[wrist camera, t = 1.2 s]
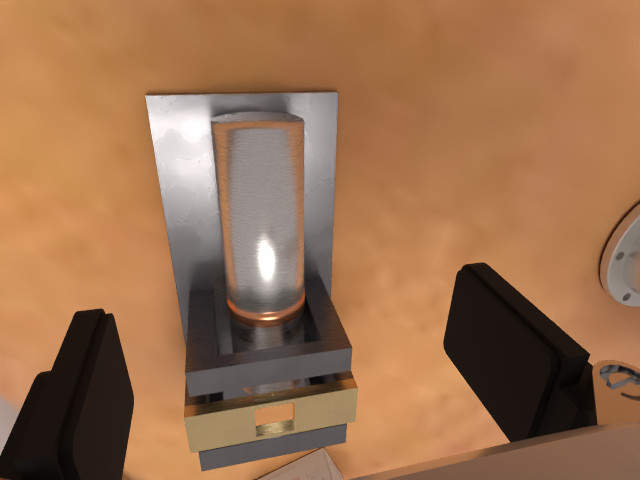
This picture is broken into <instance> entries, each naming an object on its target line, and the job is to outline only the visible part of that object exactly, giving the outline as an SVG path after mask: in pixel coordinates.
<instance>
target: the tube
mask: <svg viewBox="0 0 640 480" xmlns="http://www.w3.org/2000/svg"><path fill="white" fill-rule="evenodd" d="M210 123H211V134H212V144H213V154H214V164H215V175H216V185H217V195H218V205H219V216H220V226H221V236H222V246H223V257H224V267H225V277H226V287H227V295H226V296H227V306H228V311H229V318H230V329H231V339H232V349H233V353H239V352H245V351H252V350H259V349H266V348H273V347H280V346H287V345H294V344H300V343H304V306H305V288H304V119H303V118H301V117H299V116H296V115H292V114H287V113H279V112H240V113H231V114H226V115H221V116H218V117H215V118H213V119H212V120H211V122H210ZM301 380H302V379H297V380H291V381H284V382H278V383H272V384H266V385H260V386H254V387H248V388H242V389H243V390H244V391H245V392H247V393H249V394H251V395H257V394H263V393H269V392H275V391H281V390H287V389H292V388H295V387H296V386H297V385H298V384H299V383H300V381H301Z"/></svg>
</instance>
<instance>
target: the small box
mask: <svg viewBox="0 0 640 480" xmlns="http://www.w3.org/2000/svg"><path fill="white" fill-rule="evenodd" d="M257 480H343V478H342V475H341V474H340V472H339V470H338V469H337V467H336V466H335V464H334V463H333V461H332V459H331V458H330V456H329V455H328V453H327V452H326V450H325V449H324V448H321V449H319V450H316V451H314V452H312V453H310V454H308V455H306V456H304V457H302V458H300V459H298V460H296V461H294V462H292V463H290V464H288V465H286V466H284V467H282V468H280V469H278V470H275V471H273V472H271V473H269V474H267V475H265V476H263V477H261V478H259V479H257Z"/></svg>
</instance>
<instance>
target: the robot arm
mask: <svg viewBox="0 0 640 480" xmlns="http://www.w3.org/2000/svg"><path fill="white" fill-rule="evenodd" d="M600 279H601V284H602V286H603V288H604V290H605V292H606V293H607V294H608V295H609V296H610V297H611V298H613V299H614V300H616V301H617V302H619V303H620V304H623V305H626V306H632V307H640V204H639V205H638V206H636V207H635V208H634V209H633V210H632V211H631V212H630V213H629V214H628V215H627V216H626V217H625V218H624V219H623V221H622V222H621V223H620V225H619V226H618V227H617V229H616V230H615V232H614V233H613V235H612V237H611V238H610V240H609V242H608V244H607V246H606V249H605V251H604V253H603V257H602V261H601V266H600ZM443 344H444V349H445V352H446V354H447V355H448V357H449V358H450V359H451V361H452V362H453V364H454V365H455V366H456V368H457V369H458V371H459V372H460V373H461V375H462V376H463V377H464V379H465V380H466V382H467V383H468V384H469V386H470V387H471V388H472V390H473V391H474V393H475V394H476V395H477V397H478V398H479V400H480V401H481V402H482V404H483V405H484V406H485V408H486V409H487V411H488V412H489V413H490V415H491V416H492V417H493V419H494V420H495V422H496V423H497V424H498V426H499V427H500V428H501V430H502V431H503V433H504V434H505V435H506V437H507V438H508V440H509V441H510V442H511V443H508V444H503V445H499V446H494V447H490V448H485V449H481V450H476V451H472V452H467V453H463V454H458V455H454V456H450V457H445V458H441V459H436V460H432V461H428V462H423V463H419V464H415V465H410V466H406V467H402V468H397V469H393V470H389V471H384V472H380V473H376V474H371V475H367V476H363V477H358V478H354V479H350V480H640V369H638V368H637V367H635V366H632V365H629V364H627V363H624V362H619V361H614V360H604V361H600V362H597V363H596V364H595V365H594V366H592V365H591V364H590V363H589V362H588V359H589V356H590V354H589V353H588V352H587V351H586V350H585V349H584V348H582V347H581V346H580V345H579V344H578V343H577V342H576V341H574V340H573V339H572V338H571V337H570V336H569V335H568V334H566V333H565V332H564V331H563V330H562V329H561V328H559V327H558V326H557V325H556V324H555V323H554V322H553V321H551V320H550V319H549V318H548V317H547V316H546V315H545V314H543V313H542V312H541V311H540V310H539V309H538V308H537V307H535V306H534V305H533V304H532V303H531V302H530V301H529V300H527V299H526V298H525V297H524V296H523V295H522V294H521V293H519V292H518V291H517V290H516V289H515V288H514V287H513V286H511V285H510V284H509V283H508V282H507V281H506V280H505V279H503V278H502V277H501V276H500V275H499V274H498V273H497V272H495V271H494V270H493V269H492V268H491V267H490V266H489V265H487V264H486V263H474V264H466V265H464V266H463V267H462V269H461V270H460V271H458V273H457V276H456V281H455V286H454V291H453V296H452V301H451V306H450V311H449V316H448V321H447V326H446V331H445V336H444V342H443ZM133 407H134V396H133V390H132V386H131V382H130V378H129V374H128V370H127V366H126V362H125V358H124V354H123V351H122V347H121V343H120V339H119V335H118V331H117V327H116V323H115V319H114V316H113V314H112V313H110V314H105V312H104V310H103V309H93V310H85V311H77V312H76V313H75V314H74V316H73V319H72V321H71V324H70V326H69V328H68V331H67V333H66V336H65V338H64V341H63V343H62V345H61V348H60V350H59V353H58V355H57V358H56V360H55V362H54V365H53V367H52V370H51V371H46V372H41V373H39V374H38V375H37V376H36V378H35V380H34V382H33V384H32V386H31V388H30V391H29V393H28V395H27V397H26V400H25V402H24V404H23V406H22V408H21V411H20V413H19V415H18V417H17V420H16V422H15V424H14V426H13V429H12V431H11V433H10V435H9V437H8V440H7V442H6V444H5V447H4V449H3V451H2V453H1V456H0V480H122V474H123V468H124V462H125V456H126V450H127V444H128V438H129V432H130V426H131V420H132V414H133Z"/></svg>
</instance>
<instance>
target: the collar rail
mask: <svg viewBox="0 0 640 480" xmlns="http://www.w3.org/2000/svg"><path fill="white" fill-rule="evenodd" d="M145 97H146V103H147V109H148V115H149V121H150V128H151V134H152V140H153V146H154V152H155V159H156V165H157V171H158V177H159V183H160V190H161V196H162V202H163V208H164V214H165V221H166V227H167V233H168V239H169V245H170V252H171V258H172V264H173V270H174V276H175V282H176V289H177V295H178V301H179V307H180V313H181V320H182V326H183V332H184V338H185V344H186V368H185V375H186V387H185V408H184V420H185V426H186V431H187V437H188V442H189V448H190V453H194V452H199V458H200V464H201V470H202V471H206V470H211V469H216V468H221V467H226V466H231V465H236V464H241V463H246V462H251V461H256V460H261V459H266V458H271V457H276V456H281V455H286V454H291V453H296V452H301V451H306V450H311V449H316V448H321V447H326V446H331V445H335V444H340V443H345V442H346V429H347V423H351V422H355V416H356V404H357V392H358V387H357V384H356V382H355V380H354V377H353V375H352V372H351V358H352V346H351V344H350V342H349V339H348V337H347V335H346V333H345V330H344V328H343V326H342V324H341V321H340V319H339V317H338V315H337V312H336V310H335V308H334V306H333V303H332V301H331V299H330V297H331V270H332V244H333V217H334V191H335V165H336V138H337V112H338V92H337V91H302V92H241V93H180V94H146V96H145ZM240 112H279V113H287V114H292V115H296V116H299V117H301V118H303V119H304V288H305V306H304V343H300V344H294V345H287V346H280V347H273V348H266V349H259V350H252V351H245V352H239V353H233V349H232V339H231V329H230V318H229V311H228V306H227V296H226V295H227V287H226V277H225V267H224V257H223V246H222V236H221V226H220V216H219V205H218V195H217V185H216V175H215V164H214V154H213V144H212V134H211V123H210V122H211V120H212V119H213V118H215V117H218V116H221V115H226V114H231V113H240ZM297 379H302V380H301V381H300V383H299V384H298V385H297V386H296V387H295V388H292V389H287V390H281V391H275V392H269V393H263V394H257V395H251V394H249V393H247V392H245V391H244V390H243V389H242V388H248V387H254V386H260V385H266V384H272V383H278V382H284V381H291V380H297ZM288 403H293V419H292V420H287V421H281V422H276V423H270V424H265V425H259V426H256V425H255V411H254V409H259V408H265V407H271V406H277V405H282V404H288Z"/></svg>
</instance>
